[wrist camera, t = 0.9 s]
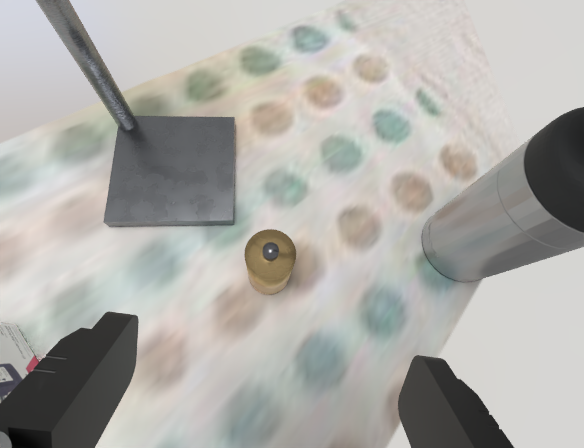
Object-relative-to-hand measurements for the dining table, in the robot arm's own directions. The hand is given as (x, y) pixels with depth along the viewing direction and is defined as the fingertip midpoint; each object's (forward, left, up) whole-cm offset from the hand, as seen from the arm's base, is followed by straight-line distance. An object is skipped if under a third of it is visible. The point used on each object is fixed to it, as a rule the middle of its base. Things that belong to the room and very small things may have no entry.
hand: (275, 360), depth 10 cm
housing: (0, -8, -27) cm, 29 cm away
